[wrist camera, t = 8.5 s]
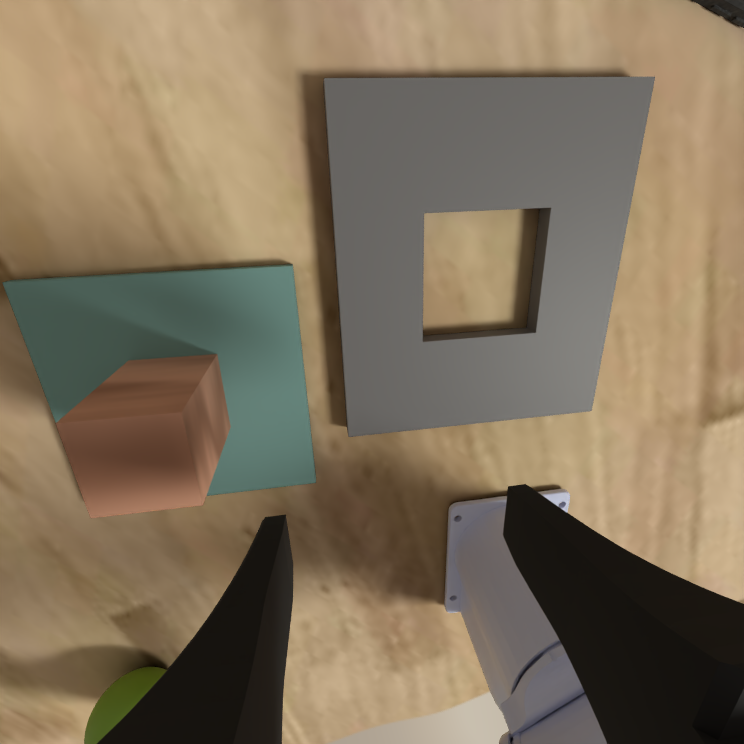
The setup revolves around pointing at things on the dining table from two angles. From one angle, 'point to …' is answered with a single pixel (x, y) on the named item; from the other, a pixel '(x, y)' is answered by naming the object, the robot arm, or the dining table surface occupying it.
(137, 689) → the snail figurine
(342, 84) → the charcoal pocket board
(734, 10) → the phone
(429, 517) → the dining table surface
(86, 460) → the terracotta block
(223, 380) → the teal mat
